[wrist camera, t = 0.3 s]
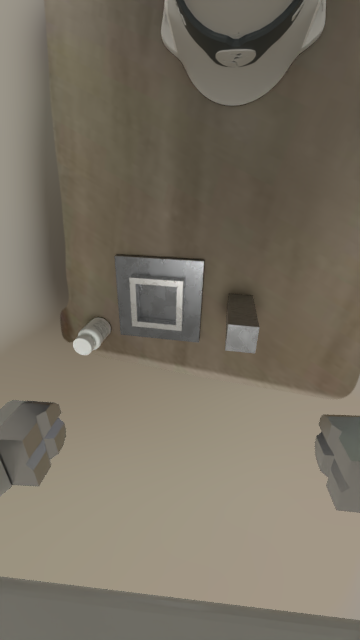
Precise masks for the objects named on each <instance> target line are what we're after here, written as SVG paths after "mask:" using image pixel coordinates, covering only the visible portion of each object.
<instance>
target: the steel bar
mask: <svg viewBox="0 0 360 640" xmlns="http://www.w3.org/2000/svg"><path fill="white" fill-rule="evenodd" d="M258 332H259V323H258V319H257V314H256V309H255V304H254V299H253V295H242V294H229V296H228V305H227V315H226V345H225V350H228V351H237V352H247V353H255V350H256V344H257V338H258Z"/></svg>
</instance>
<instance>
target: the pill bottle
mask: <svg viewBox="0 0 360 640" xmlns="http://www.w3.org/2000/svg"><path fill="white" fill-rule="evenodd" d="M110 332H111V326H110V324H109V323H108V321H106V320H105V319H103V318H100V317H97V318H94V319H92V320H91V321H90V322H89V323H88V324H87V325H86V326H85V327H84V328H83V329H82V330H81V331H80V332H79V334H78V337H77V338H76V339H75V340H74V342H73V347H74V349H75V351H76V352H77V353H79V354H81V355H88V354H90V353H91V352H92V351H93V350H95V349H97V348H98V347H99V346H100V345H101V344H102V343H103V342H104V340H105V339H106V338H107V337H108V335H109V334H110Z"/></svg>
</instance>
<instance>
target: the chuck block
mask: <svg viewBox="0 0 360 640" xmlns="http://www.w3.org/2000/svg"><path fill="white" fill-rule="evenodd" d="M115 268H116V280H117V293H118V305H119V318H120V330H121V334H122V335H132V336H141V337H151V338H161V339H170V340H180V341H190V342H199V339H200V323H201V307H202V291H203V275H204V260H199V259H183V258H167V257H151V256H135V255H119V254H117V255H115Z"/></svg>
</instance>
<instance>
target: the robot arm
mask: <svg viewBox="0 0 360 640" xmlns="http://www.w3.org/2000/svg"><path fill="white" fill-rule="evenodd" d="M325 18H326V0H165V4H164V11H163V19H162V26H161V36H162V41H163V43H164V45H165V46H166V48H167V49H168V50H169V51H170V52H171V53H173V54H174V55H175V56H176V57H177V58H179V59H180V61H181V62H182V64H183V66H184V68H185V70H186V72H187V74H188V76H189V78H190V79H191V81H192V83H193V84H194V85H195V87H196V88H197V89H198V90H199V91H200V92H201V93H202V94H203V95H204V96H205V97H207V98H208V99H210V100H212V101H214V102H216V103H219V104H223V105H229V106H235V105H242V104H246V103H249V102H252V101H254V100H256V99H258V98H260V97H262V96H263V95H264V94H266V93H267V92H268V91H270V90H271V89H272V88H273V87H274V86H275V85H276V84H277V83H278V82H279V81H280V79H281V78H282V77H283V76H284V74H285V73H286V71H287V70H288V68H289V67H290V65H291V64H292V62H293V61H294V59H295V58H296V57H297V56H298V55H299V54H300V53H301V52H303V51H304V50H305V49H307V48H308V47H309V46H310V45H312V44H313V43H314V42H315V41H316V40H317V39H318V38H319V37H320V35H321V33H322V31H323V28H324V25H325ZM60 414H61V410H60V407H59V404H56V403H51V402H50V403H49V402H37V401H18V400H12V401H10V402H7V403H6V404H5V405H4V406H3V407H2V408H1V409H0V496H1V495H2V494H3V493H5V492H6V491H7V490H8V489H10V488H11V487H12V485H23V486H24V485H25V486H39V485H40V483H41V482H42V480H43V479H44V477H45V475H46V474H47V472H48V470H49V469H50V467H51V462H50V459H52V458H53V457H54V456H56V455H57V454H59V451H60V450H61V448H62V447H63V444H64V441H65V437H66V428H65V424H64V422H63V421H61V420H60V419H59V418H58V417H59V415H60ZM319 426H320V428H321V431H322V432H321V433H320V434H319V435H317V436H316V441H315V455H316V459H317V463H318V466H319V468H320V471H321V472H322V473H323V474H325V475H326V476H327V477H328V481H327V485H326V486H327V488H328V491H329V493H330V496H331V498H332V501H333V503H334V506H335V508H336V510H339V511H349V512H359V513H360V416H349V415H347V416H346V415H322V416H321V418H320V422H319ZM0 640H360V620H353V619H345V618H337V617H328V616H321V615H312V614H304V613H296V612H288V611H279V610H271V609H263V608H255V607H247V606H238V605H230V604H222V603H214V602H206V601H197V600H189V599H181V598H173V597H164V596H156V595H148V594H140V593H132V592H124V591H114V590H107V589H99V588H90V587H82V586H74V585H66V584H57V583H49V582H41V581H32V580H25V579H16V578H8V577H0Z"/></svg>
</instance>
